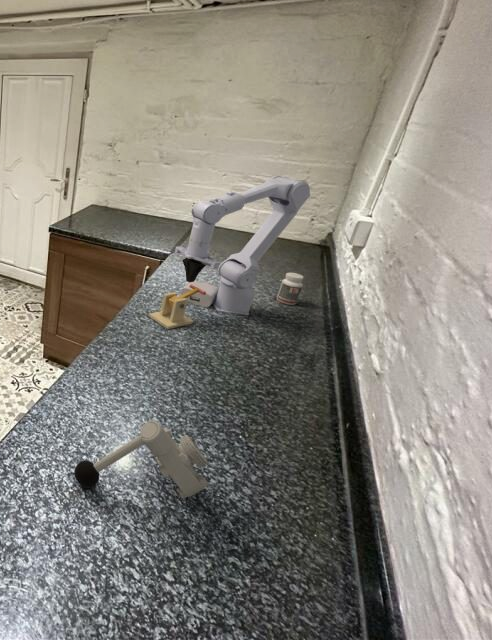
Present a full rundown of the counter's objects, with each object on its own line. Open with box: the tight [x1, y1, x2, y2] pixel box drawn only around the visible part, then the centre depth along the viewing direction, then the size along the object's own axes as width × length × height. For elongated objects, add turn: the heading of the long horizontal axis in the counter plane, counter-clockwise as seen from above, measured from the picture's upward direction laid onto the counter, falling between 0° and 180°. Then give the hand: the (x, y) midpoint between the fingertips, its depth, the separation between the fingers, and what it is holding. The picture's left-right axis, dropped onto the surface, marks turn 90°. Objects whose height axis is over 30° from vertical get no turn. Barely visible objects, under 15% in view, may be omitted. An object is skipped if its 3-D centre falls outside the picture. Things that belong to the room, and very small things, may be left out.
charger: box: [179, 280, 219, 308], centre depth 137 cm, size 5×9×15 cm
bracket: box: [148, 291, 194, 330], centre depth 121 cm, size 10×8×8 cm
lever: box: [168, 285, 206, 308], centre depth 121 cm, size 11×6×2 cm, turn 111°
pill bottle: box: [276, 272, 305, 306], centre depth 135 cm, size 6×6×10 cm
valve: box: [74, 419, 209, 500], centre depth 69 cm, size 10×20×15 cm
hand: (190, 281), depth 125 cm, fingers closed
